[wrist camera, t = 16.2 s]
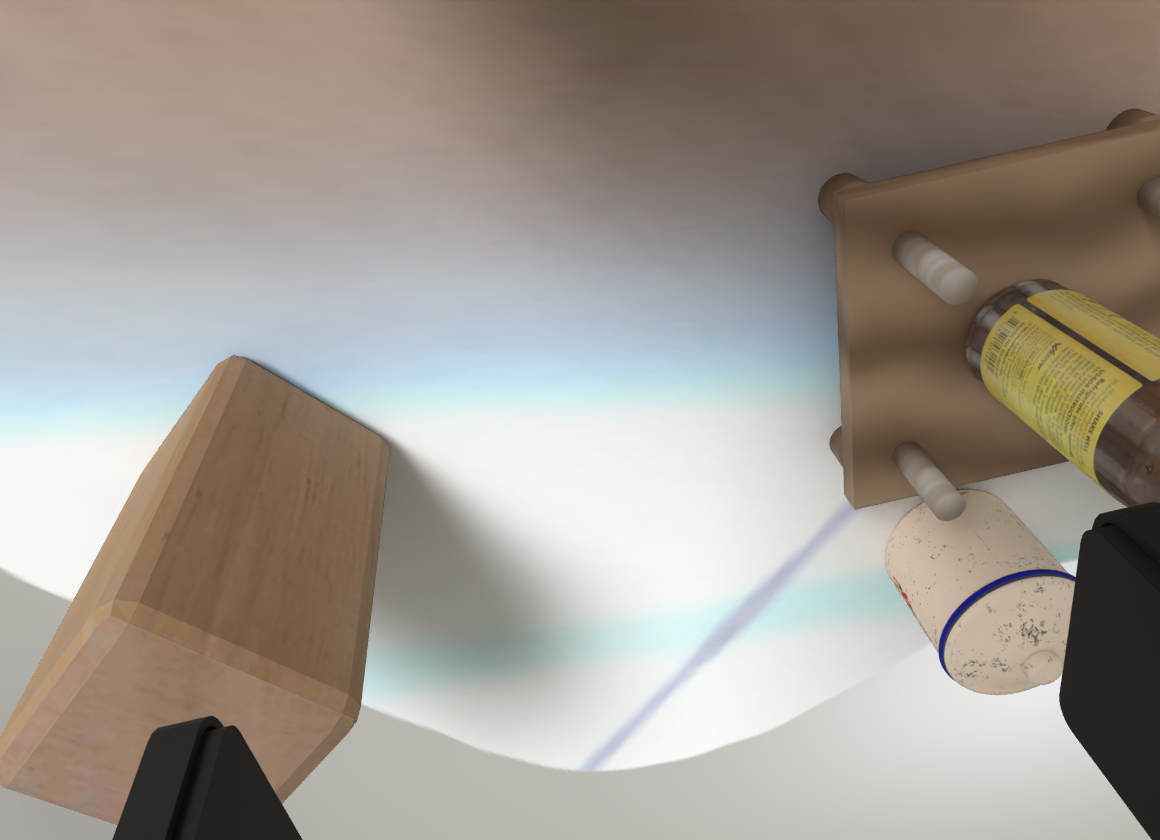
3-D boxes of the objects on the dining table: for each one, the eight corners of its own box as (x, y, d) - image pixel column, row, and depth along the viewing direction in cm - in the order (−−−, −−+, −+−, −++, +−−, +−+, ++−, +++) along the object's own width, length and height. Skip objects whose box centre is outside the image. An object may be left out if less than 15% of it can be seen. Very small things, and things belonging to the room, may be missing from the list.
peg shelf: (811, 174, 45) (890, 236, 37) (1159, 96, 45) (1316, 141, 37) (825, 465, 54) (891, 566, 46) (1114, 400, 54) (1231, 489, 46)
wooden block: (398, 438, 50) (369, 726, 32) (301, 556, 53) (229, 874, 36) (232, 341, 46) (99, 610, 28) (138, 475, 49) (-32, 790, 32)
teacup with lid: (853, 577, 59) (934, 716, 49) (928, 467, 55) (1033, 594, 45) (995, 615, 63) (1098, 752, 53) (1075, 514, 59) (1203, 641, 49)
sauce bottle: (978, 404, 48) (1271, 689, 31) (943, 313, 45) (1247, 573, 28) (1092, 344, 47) (1462, 603, 30) (1065, 247, 44) (1460, 474, 26)
